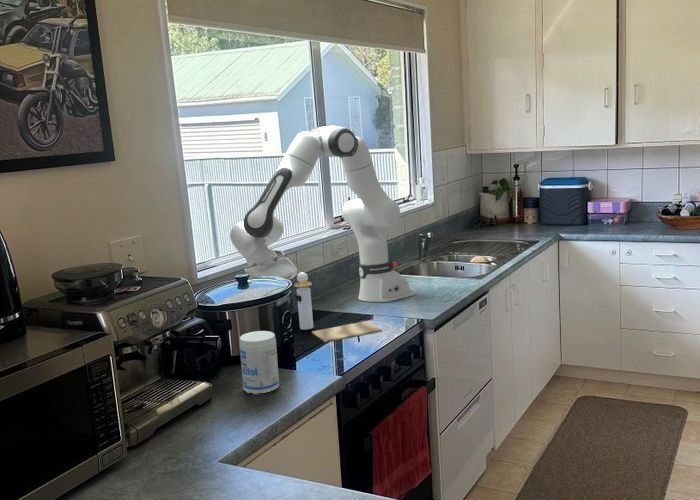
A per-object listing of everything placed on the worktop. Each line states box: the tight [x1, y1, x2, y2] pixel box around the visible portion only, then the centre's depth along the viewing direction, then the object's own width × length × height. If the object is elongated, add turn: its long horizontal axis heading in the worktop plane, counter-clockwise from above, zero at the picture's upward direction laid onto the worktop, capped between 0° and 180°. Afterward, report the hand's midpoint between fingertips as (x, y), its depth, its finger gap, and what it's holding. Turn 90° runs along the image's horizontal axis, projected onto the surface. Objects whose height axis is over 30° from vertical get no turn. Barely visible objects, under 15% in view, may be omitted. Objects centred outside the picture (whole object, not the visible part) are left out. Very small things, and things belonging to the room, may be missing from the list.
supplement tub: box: [239, 330, 280, 395], centre depth 183 cm, size 10×10×15 cm
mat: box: [311, 320, 383, 343], centre depth 229 cm, size 20×12×1 cm, turn 114°
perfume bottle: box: [294, 271, 314, 331], centre depth 233 cm, size 6×6×20 cm
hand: (286, 291), depth 237 cm, fingers closed
